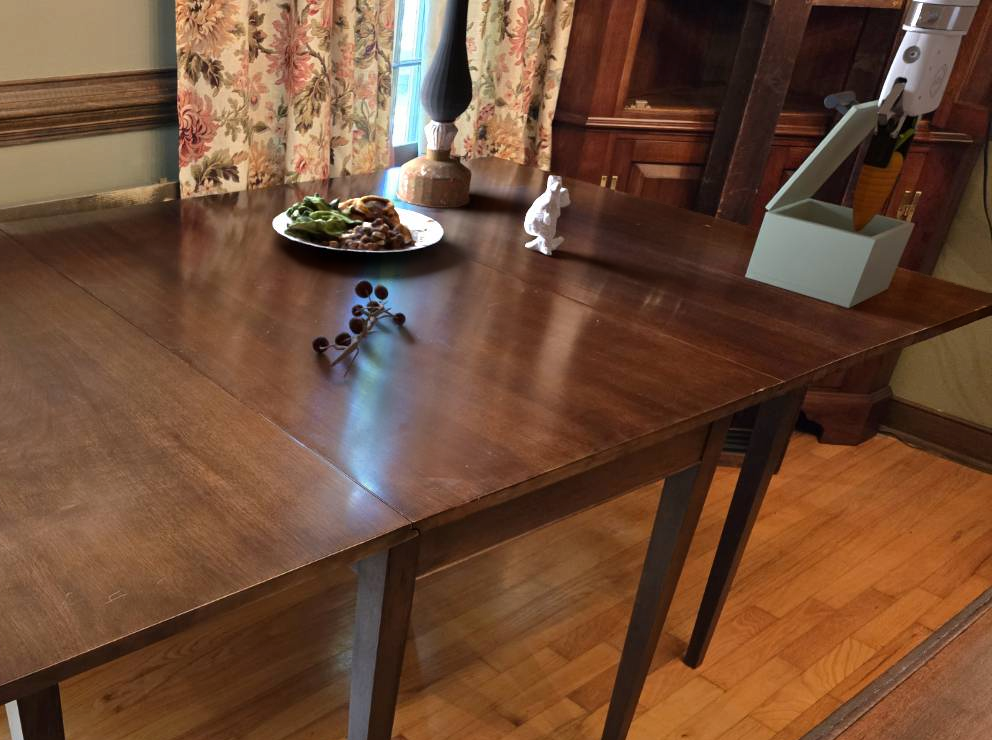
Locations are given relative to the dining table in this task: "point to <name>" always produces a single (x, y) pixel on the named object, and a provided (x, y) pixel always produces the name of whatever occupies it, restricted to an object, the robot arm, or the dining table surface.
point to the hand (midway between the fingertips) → (883, 162)
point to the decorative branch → (359, 323)
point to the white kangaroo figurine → (547, 216)
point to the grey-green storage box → (827, 252)
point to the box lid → (830, 148)
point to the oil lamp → (442, 120)
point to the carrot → (875, 187)
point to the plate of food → (357, 225)
